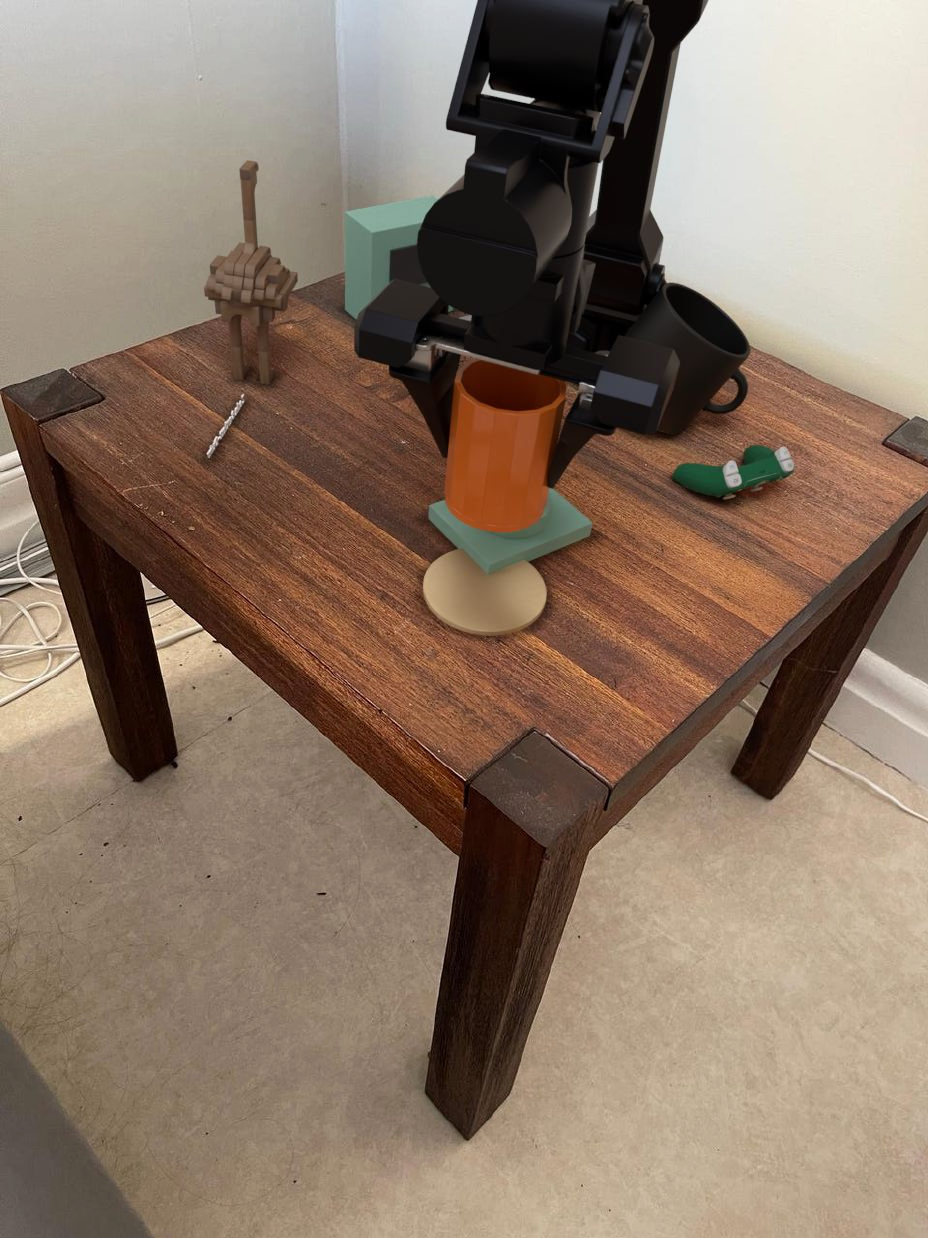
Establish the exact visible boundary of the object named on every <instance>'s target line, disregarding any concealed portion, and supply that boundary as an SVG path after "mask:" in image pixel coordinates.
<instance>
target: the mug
mask: <svg viewBox="0 0 928 1238" xmlns="http://www.w3.org/2000/svg"><path fill="white" fill-rule="evenodd" d="M624 337H627V338H631V339H635V340H639V341H643V342H647V343H651V344H655V345H659V346H663V347H667V348H671V349H674V351H675V353H676V355H677V357H678V359H679V361H680V366H679V370H678V373H677V377H676V381H675V384H674V388H673V391H672V394H671V396H670V399H669V401H668V404H667V406H666V409H665V411H664V414H663V416H662V419H661V421H660V424H659V426H658V429H657V431H658V432H660V433H664V434H669V435H670V434H671V435H673V434H678V433H682V431H685V430H686V429H687V427H689V426H690V424H691V423H692V422H693V420H694V419H696V418H697V416H698V415H699V414H700V413H701V411H703V412H708V413H710V414H714V415H726V414H729V413H732V412H734V411H735V410H737V409H738V408H740V407H741V406H742V405H743V403H744V401H745V400H746V398H747V396H748V391H749V383H748V379H747V377H746V376H745V374H744V373H743V372H742V371H741V369H740V367H742V365H744V363H745V361H747V359H748V358H749V357H750V356H751V352H752V350H751V344H750V342H749V340H748V338H747V337H746V335H745V333H744V331H742V329H741V328H740V327H739V325H738V324H737V323H736V322H735V321H734V319H733V318H732V317H731V316H729V315H728V313H726V312H725V311H724V310H723V309H722V308H721V307H720V306H718V305H717V304H716V303H715V302H714V301H712V300H711V299H709V298H708V297H707V296H705V295H704V294H702V293H700V292H698V291H697V290H695V289H693V288H692V287H689V286H686V285H684V284H682V283H677V282H667V283H666V284H664V285H663V286H662V287H661V289H660V290H659V291H658V293H657V294H656V295H655V297H654V298H653V299H652V301H651V302H650V303H649V304H648V306H647V307H646V308H645V310H644V311H643V312H642V314H641V315H640V316H639V318H638V319H637V320H636V322H635V323H634V324H633V325H632V327H631V328H630V329H629V331H628V332H627V333H626V335H625V336H624ZM729 380H732V381H734V382H735V384H736V385H737V393H736V395H735V397H734V398H733V399H732V400H731V401H730V402H728V403H725V404H716V403H713V402H712V401H713V400H712V399H713V398H714V397H715V396H716V394H718V392H719V391H720V390H721V388H723V386H724V385H726V383H727V382H728V381H729Z"/></svg>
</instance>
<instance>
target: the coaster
mask: <svg viewBox="0 0 928 1238" xmlns="http://www.w3.org/2000/svg"><path fill="white" fill-rule="evenodd" d="M545 583H546V582H545V580H544V579H543V576H542V575H541V573H540V572H539V571H538V570H537V569H536V568H535V566H533V565H532V564H531V563H530V561H528V562H527V561H526V560H522V561H519V562H517V563H514V564H512V565H509V566H507V567H505V568H502V569H500V570H497V571H495V572H493V573H490V574H487V573H486V572H485V571H484V570H483V569H482V568H481V567H480V565H479V564H478V563H477V562H476V561H475V560H474V559H473V558H472V557H471V556H470V555H469V554H468V553H467V552H466V551H465V550H464V549H463V548H461V549H458V548H456V549H453V550H450V551H449V552H446V553H443V555H440V556H439V557H437V559H435V560H434V561H433V562H432V563H431V564H430V565H429V567H427V570H426V571H425V574H424V577H423V581H422V593H423V598H424V601H425V603H426V605H427V606H428V609H430V611H431V612H432V613H433V614H434V615H435V617H436V618H438V619H439V620H440V621H442V622H443V623H445V624H446V625H448V626H449V627H452V628H453V629H456V630H458V631H462V632H464V633H467V634H472V635H477V636H487V637H488V636H489V637H492V636H493V637H495V636H503V635H504V636H505V635H510V634H513V633H517V632H519V631H522V630H523V629H526V628H527V627H529V626H531V625H532V624H534V623H535V622H536V620H538V619H539V618H540V616H541V615H542V613H543V612H544V610H545V607H546V603H547V595H548V593H547V586H546V584H545Z"/></svg>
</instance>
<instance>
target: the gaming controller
mask: <svg viewBox="0 0 928 1238" xmlns="http://www.w3.org/2000/svg"><path fill="white" fill-rule="evenodd" d="M742 461H743V464H744V465H741V466H737V462H736V461H735V460H733V459H731V460H728V461H727V462H726V463H724V464H722V465H711V464H704V463H697V462H684V463H680V464H679V465H678V466H676V468H675V469H674V471H673V473H672V476H671V477H672V478H673V480H675V481H676V483H678V484H680V485H681V486H683V487H684V488H687V489H688V490H690V491H693V492H695V493H699V494H702V495H706V496H711V497H712V496H715V497H716V498H720V497H722V496H723V497H722V500H724V501H725V500H729V499H733V498H736V494H735V493H736V492H739V491H742V490H746V489H749V491H750V493H754V492H757V491H761V490H762V489H763V486H762V485H764V484H767V483H773V482H776V481H779V480H784V479H787V478H788V477H789V476H791V475H792V474H794V472H795V464H794V460H793V459H792V455H791V453H790V452H789V449H788V448H787V447H786V446H784V445H783V446H780V448H779V449H775V450H774V449H772V448H770V447H768V446H764V445H761V444H753V445H749V446H748V447H746V448H745V449H744V451H743V453H742ZM750 488H751V489H750Z"/></svg>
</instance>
